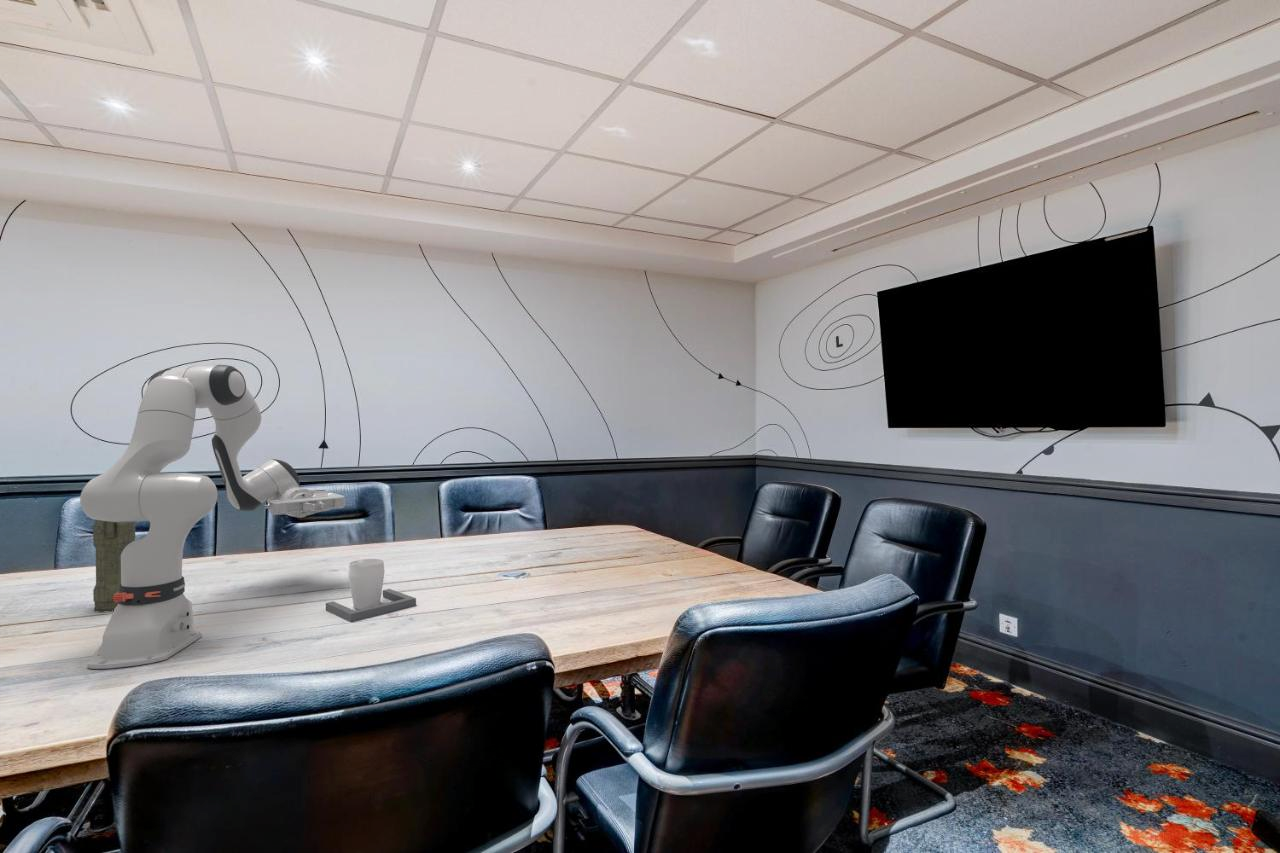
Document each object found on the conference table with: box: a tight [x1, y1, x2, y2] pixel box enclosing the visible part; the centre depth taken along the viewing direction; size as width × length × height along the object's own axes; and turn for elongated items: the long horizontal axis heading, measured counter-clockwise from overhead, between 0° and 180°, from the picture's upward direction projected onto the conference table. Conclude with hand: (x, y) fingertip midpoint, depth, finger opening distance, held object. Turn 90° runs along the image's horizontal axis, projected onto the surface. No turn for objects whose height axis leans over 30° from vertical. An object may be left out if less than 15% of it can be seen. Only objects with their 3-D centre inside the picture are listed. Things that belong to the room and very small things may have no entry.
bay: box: [325, 588, 417, 623], centre depth 169 cm, size 14×18×2 cm
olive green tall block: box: [92, 519, 136, 612], centre depth 168 cm, size 9×12×35 cm
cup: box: [348, 558, 385, 610], centre depth 170 cm, size 9×9×12 cm
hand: (318, 506), depth 180 cm, fingers closed
